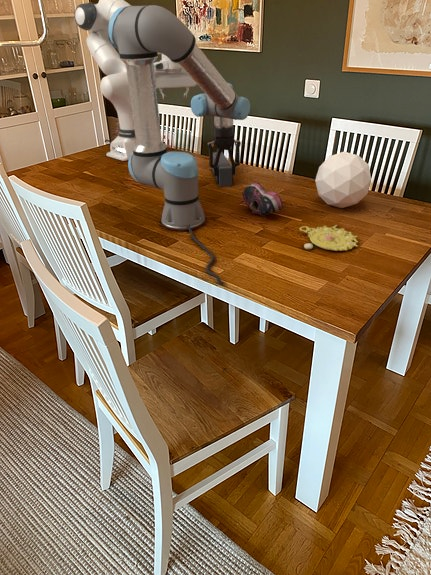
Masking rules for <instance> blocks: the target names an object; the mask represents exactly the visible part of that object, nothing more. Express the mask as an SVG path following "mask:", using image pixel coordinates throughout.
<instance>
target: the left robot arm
mask: <svg viewBox="0 0 431 575" xmlns="http://www.w3.org/2000/svg"><path fill="white" fill-rule="evenodd" d="M126 6H132V5H131V4H130V3H128V2H127V1H126V0H98V3H93V2H83V3H80V4H78V5H77V6H76V8H75V10H74V22H75V24H76V25H77V27H78V28H79V29H80V30H81V29H82V30H84V31H86V32H87V31H89V34H87V37H86V41H85V42H86V43H85V44H86V46H87V49H88V51H89V53H90V55H91V56H92V58H93V60H94V61H95V63H96V64H97V65H98V67H99V69H100V70H101V71H102V73H103V74H104V75H106V76H104V77H102V78H101V80H100V84H99V87H100V92H101V93H102V96H103V97H105V99H107V100H108V101H109V102H110V103H111V104H112V105H113V107H114V109H115V111H116V113H117V118H118V124H119V128H117V129H116V131H115V132H116V133H117V134H118V135H117V136H116V137H115V138H114V139H113V140H112V141H111V140H110V139H104V143H107V142H108V143H109V145H110V146H109V148H110V151H108V152H106V154H105V155H106V156H107V157H110V158H112V159H116V160H119V161H122V162H125V161H129V159H130V158H131V157H130V155H131V154H132V153H133V147H134V146H135V144H136V137H135V130H134V122H133V115H132V107H131V100H130V92H129V85H128V77H127V70H126V65H125V63H124V62H122V61H121V60H120V55H119V51H118V50H117V48H115V47H114V45H113V44H112V42H111V40H110V37H109V32H108V27H109V21H110V18H111V17H112V15H113V13H114V12H115V11H116V10H117V9H119V8H121V7H126ZM157 53H158V52H157ZM158 55H161V59H160V60H158V61H155V62H154V72H155V82H156V89H159V92H160V94H161V96H162V100H166V99H167V95H166V94H165V93H164V92H163V91H164V89H173V88H185V92H184V93H183V99H188V93H189V91H190V88H191V87H193V88H194V87H196V86H198V85H197V83H196V82H195V81H194V80H193V79H192V78H191V77H190V76H189V75H188V73H187V72H186V71H185V70H184V69H183V68H182V67H181V66H180V65H179V64H178V63H174V62H172V61H171V60H170V59H169V58H168V57H167V56H165V55H163V54H161V53H158Z"/></svg>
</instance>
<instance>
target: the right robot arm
mask: <svg viewBox="0 0 431 575" xmlns="http://www.w3.org/2000/svg"><path fill="white" fill-rule="evenodd" d="M108 32H109V37H110V38H109V41H110V42H111V44H112V45H113V47H114V48H115V49H116V50H117V51H118V54H119V55H120V60H121V61H122V62H124V63H125V65H126V70H127V77H128V85H129V92H130V101H131V107H132V115H133V122H134V130H135V137H136V144H135V146H134V147H133V153H132V154H131V155H130V157H131V158H130V159H129V160H127V161H128V163H127V166H128V167H127V168H128V172H129V174H130V176H131V178H132V180H134V181H136V182H137V183H140V184H141V185H143V186H148V187H151V188H154V189H158V190H161V191H163V194H164V204H163V209H162V213H161V219H160V220H161V225H162V227H163V228H165V229H167V230H170V231H175V232H176V231H177V232H185V231H186V232H187V231H189V234H190V236H191V239H192V240H193V241H194V243H196V244H197V245H198V246H199V247H200V248H202V250H204V251H205V252H206V253H208V254H209V256H211V260H210V261H209V263H208V264H207V265H206V269H205V270H206V273H207V275H209V276H212V277H214V278H215V279H216V280H217V282H218V284H219V286H223V281H222V279H221V278H220V275H219V276H218V274H216V273H214V272H212V271H210V267H211V266H212V264H213V263H214V262H215V258H216V257H215V255H214V253H213V252H212V251H211V250H210V249H209V248H207V247H206V246H204V245H203V244H202V242H200V241H199V240H198V239H197V238H196V237H195V235H194V232H193V230H195V229H198V228H201V227H202V226H203V225H204V224H205V223H206V217H205V212H204V210H203V208H202V204H201V202H200V196H199V168H198V162H197V160H196V158H195V156H193V155H192V154H190V153H188V152H184V151H176V150H175V151H173V150H172V151H168V147H167V145H166V143H165V142H164V141H162V132H161V123H160V111H159V102H158V93H157V88H156V82H155V72H154V63H155V62H156V61H157V59H158V58H159V54H158V53H161V54H160V55H162V54H163V55H165V56H167V57H168V58H169V59H170V60H171V61H172V62H174V63H178V64H179V65H180V66H181V67H182V68H183V69H184V70H185V71H186V72H187V73H188V75H189V76H190V77H191V78H192V79H193V80H194V81H195V82H196V83H197V85H196V86H198V87H199V88H200V89H201V91H203V93H199V94H197V95H194V96H192V98H191V100H190V109H191V112H192V113H193V115H194V116H195V117H198V118H200V117H203V118H204V117H206V116H209V117H213V118H214V120H213V123H214V138H213V141H208V142H207V146H208V166H209V167H210V169H212V168H214V173H213V175H214V177H215V176H216V177H215V179H216V185H219V168H218V167H217V166H218V162H219V158H220V154H221V152H223V151H227V153H228V156H229V160H230V165H231V167H232V184H234V176H235V175H236V168H237V167H240V165H241V155H240V154H241V151H240V147H241V144H242V142H241V140H240V139H239V140H237V139H235V137H234V126H233V125H234V121H236V120H237V121H244V120H246V119H247V118H248V116H249V114H250V112H251V103H250V100H249V99H248V98H247V97H244V96H241V95H240V96H239V95H238V94H237V93H236V92H235V91H234V86H233V85H232V83H229V82H227V81H226V79H225V78H224V77H223V75H222V74H221V73H220V72H219V71H218V69H217V67H216V66H214V64H213V63H212V62H211V61H210V59H209V58H208V57H207V55H205V53H204V52H203V50H202V49H201V48H200V47H199V46H198V44H197V38H196V36H195V34H193V33H192V31H191V30H190V29H189V27H188V26H187V25H186V24H185V23H184V22H183V21H182V20H181V19H180V18H178V16H177V15H175V14H174V13H173V12H171V11H170V10H168V9H167V8H165V7H163V6H160V5H156V4H155V5H154V4H152V5H151V4H150V5H131V6H126V7H121V8H119V9H117V10H116V11H115V12H114V13H113V15H112V17H111V18H110V21H109V27H108ZM157 52H158V53H157ZM214 145H215V146H216V147H217V148H216V152H217V153H216V157H215V161H214V164H213V153H214V149H213V148H214V147H215V146H214ZM233 145H235V146H234V147H235V158H234V154H233V152H232V151H233V150H232V146H233ZM224 370H226V371H227V368H226V367H224V368H223V371H224Z"/></svg>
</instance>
